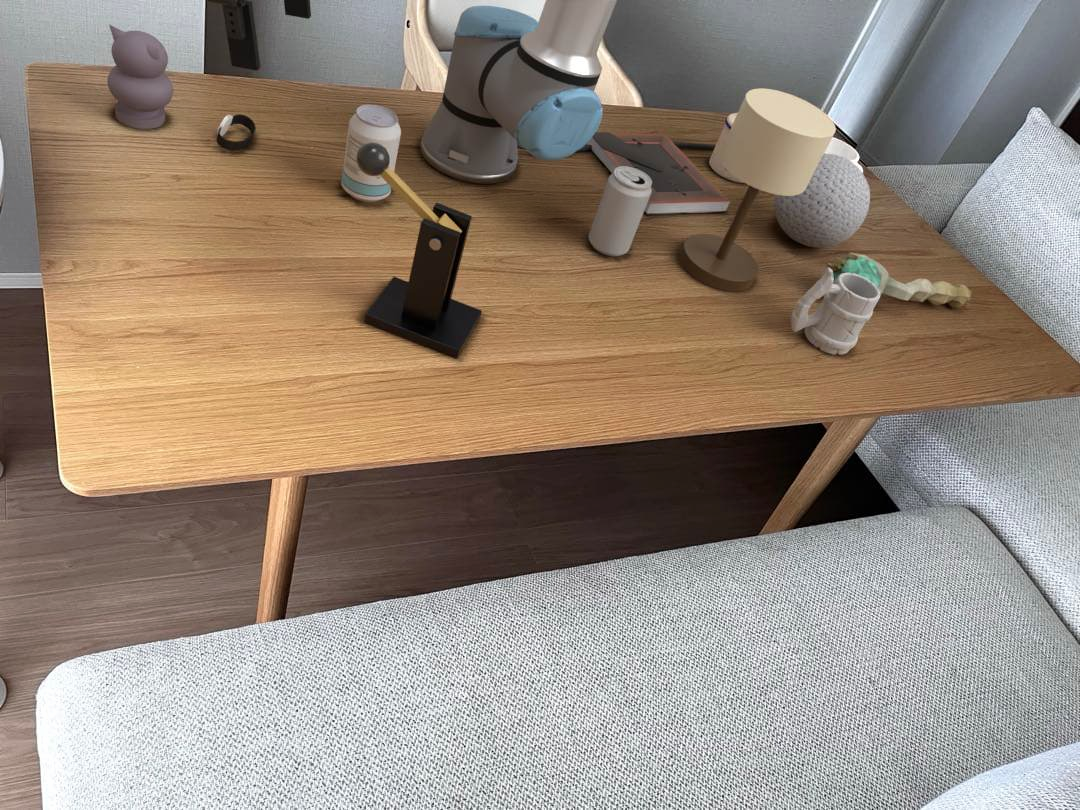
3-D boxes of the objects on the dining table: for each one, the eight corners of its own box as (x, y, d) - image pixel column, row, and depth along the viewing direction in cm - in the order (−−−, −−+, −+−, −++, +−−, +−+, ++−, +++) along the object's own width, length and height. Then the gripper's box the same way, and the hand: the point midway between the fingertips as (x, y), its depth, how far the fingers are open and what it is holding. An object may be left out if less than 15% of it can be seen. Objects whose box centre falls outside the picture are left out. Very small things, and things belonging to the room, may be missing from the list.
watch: (231, 125, 133) (232, 101, 130) (262, 135, 133) (264, 112, 131) (207, 147, 127) (207, 123, 125) (239, 158, 127) (240, 134, 125)
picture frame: (584, 144, 159) (645, 215, 146) (588, 131, 157) (651, 202, 145) (660, 145, 167) (724, 213, 154) (665, 133, 165) (730, 200, 153)
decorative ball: (859, 259, 155) (905, 182, 145) (802, 271, 147) (847, 190, 137) (799, 209, 163) (839, 133, 153) (742, 218, 154) (780, 138, 145)
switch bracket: (363, 322, 109) (382, 217, 99) (392, 284, 116) (411, 182, 106) (457, 358, 109) (484, 257, 99) (480, 318, 116) (508, 220, 106)
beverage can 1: (396, 190, 132) (410, 114, 124) (378, 212, 127) (391, 134, 119) (352, 173, 132) (363, 96, 124) (332, 194, 127) (342, 115, 119)
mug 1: (778, 190, 166) (803, 140, 159) (800, 180, 172) (826, 131, 165) (827, 222, 162) (855, 172, 155) (849, 211, 168) (877, 162, 161)
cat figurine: (185, 119, 131) (186, 38, 123) (148, 138, 125) (147, 54, 117) (134, 96, 131) (132, 14, 124) (95, 114, 125) (90, 28, 118)
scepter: (950, 264, 156) (820, 246, 141) (992, 274, 148) (860, 256, 134) (935, 313, 158) (806, 301, 144) (976, 326, 151) (844, 313, 137)
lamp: (730, 242, 147) (803, 92, 130) (770, 293, 139) (853, 140, 122) (662, 241, 142) (729, 84, 125) (700, 294, 134) (776, 133, 117)
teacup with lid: (720, 182, 162) (747, 123, 154) (699, 155, 168) (724, 96, 160) (775, 186, 167) (804, 129, 159) (752, 160, 173) (779, 103, 165)
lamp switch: (344, 163, 100) (364, 143, 97) (358, 150, 102) (377, 130, 100) (437, 257, 104) (457, 240, 102) (447, 242, 107) (467, 225, 105)
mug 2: (860, 358, 133) (903, 293, 125) (790, 353, 129) (830, 285, 121) (837, 324, 138) (877, 259, 130) (770, 318, 134) (807, 251, 126)
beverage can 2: (615, 264, 133) (643, 193, 125) (579, 243, 135) (604, 172, 127) (634, 249, 138) (662, 180, 130) (599, 228, 139) (624, 159, 131)
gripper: (263, -228, 91) (286, -9, 106) (134, -168, 73) (184, 84, 88) (335, -217, 90) (348, 2, 105) (223, -154, 72) (258, 98, 87)
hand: (273, 40), depth 97 cm, fingers open, 13 cm apart
